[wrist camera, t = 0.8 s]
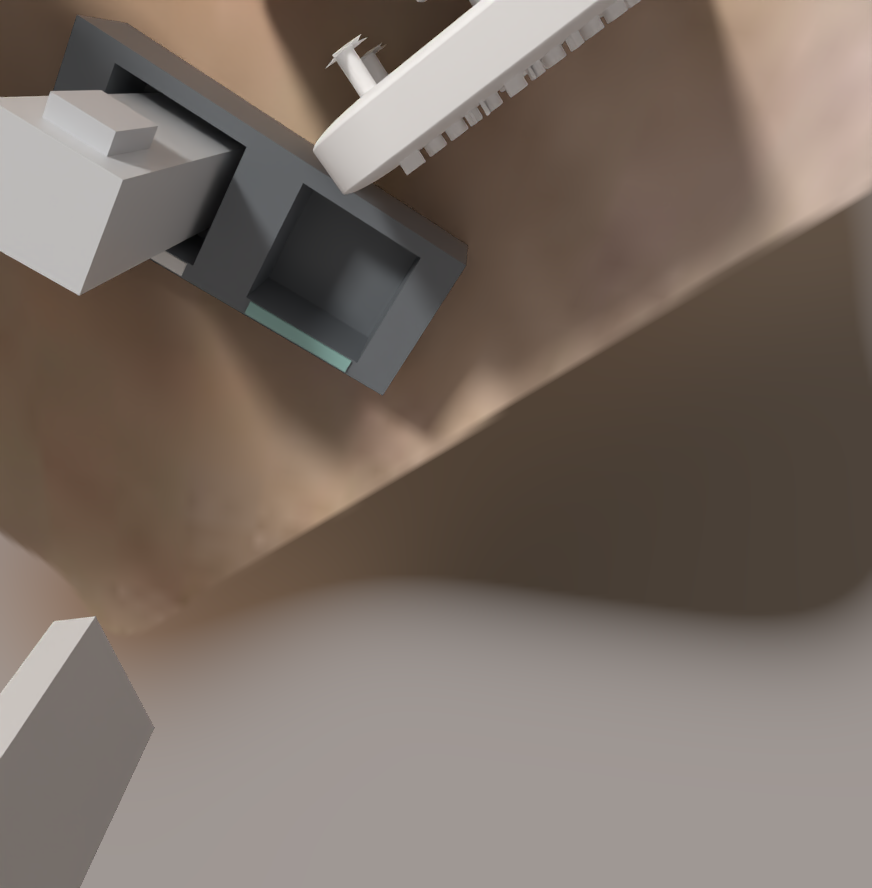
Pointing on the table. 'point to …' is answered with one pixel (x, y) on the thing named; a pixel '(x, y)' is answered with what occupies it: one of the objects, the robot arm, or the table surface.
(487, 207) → the table surface
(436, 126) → the cable organizer
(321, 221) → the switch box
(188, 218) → the plug
